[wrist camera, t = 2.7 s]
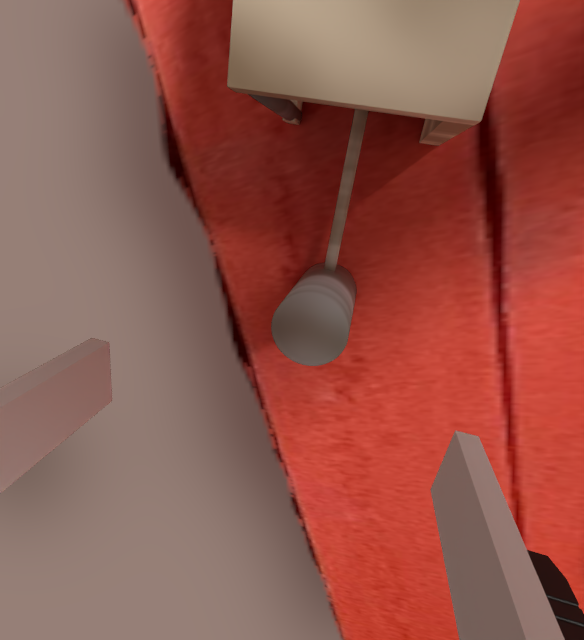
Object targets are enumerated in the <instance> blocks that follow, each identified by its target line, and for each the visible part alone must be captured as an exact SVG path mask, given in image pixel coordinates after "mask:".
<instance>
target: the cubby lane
mask: <svg viewBox="0 0 584 640" xmlns="http://www.w3.org/2000/svg"><path fill="white" fill-rule="evenodd" d="M519 2H520V0H233V8H232V23H231V37H230V52H229V67H228V81H227V87H228V88H230V89H232V90H233V91H235V92H238V93H245V94H248V95H250V96H251V97H253V98H254V99H256V100H257V101H259V102H260V103H262V104H263V105H265V106H266V107H268V108H269V109H271V110H272V111H274V112H275V113H277V114H278V115H280V116H281V117H283V119H282V120H283V121H285V122H287V123H289V124H296V125H300V121H301V119H302V112H301V111H302V104H303V102H310V103H317V104H324V105H331V106H339V107H346V108H353V109H360V110H367V111H374V112H382V113H389V114H396V115H403V116H410V117H418V118H425V122H424V126H423V130H422V133H421V137H420V141H419V143H423V144H430V145H436V146H439V145H441V144H442V143H444V142H446V141H448V140H450V139H451V138H453V137H455V136H457V135H458V134H460V133H462V132H464V131H465V130H467V129H469V128H471V127H472V126H474V125H476V124H478V123H479V122H481V120H482V117H483V114H484V110H485V107H486V104H487V101H488V98H489V95H490V92H491V89H492V86H493V82H494V79H495V76H496V73H497V70H498V67H499V64H500V61H501V58H502V54H503V51H504V48H505V45H506V42H507V39H508V36H509V33H510V30H511V26H512V23H513V20H514V17H515V14H516V11H517V8H518V5H519Z"/></svg>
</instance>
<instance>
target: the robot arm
mask: <svg viewBox="0 0 584 640" xmlns="http://www.w3.org/2000/svg"><path fill="white" fill-rule="evenodd" d="M111 401H112V389H111V369H110V349H109V342H106V341H101V340H98V339H94V338H91V339H89V340H87V341H85V342H83V343H81V344H80V345H78V346H76V347H74V348H72V349H71V350H69V351H67V352H65V353H63V354H61V355H60V356H58V357H56V358H54V359H52V360H50V361H49V362H47V363H45V364H43V365H41V366H40V367H38V368H36V369H34V370H32V371H30V372H28V373H27V374H25V375H23V376H21V377H19V378H18V379H16V380H14V381H12V382H10V383H8V384H7V385H5V386H3V387H1V388H0V493H1V492H3V491H4V490H5V489H6V488H7V487H9V486H10V485H11V484H12V483H14V482H15V481H16V480H17V479H18V478H20V476H22V475H23V474H24V473H25V472H27V471H28V470H29V469H30V468H32V467H33V466H34V465H35V464H36V463H38V462H39V461H40V460H41V459H42V458H44V457H45V456H46V455H47V454H48V453H50V452H51V451H52V450H53V449H54V448H56V447H57V446H58V445H59V444H60V443H62V442H63V441H64V440H65V439H66V438H68V437H69V436H70V435H71V434H72V433H74V432H75V431H76V430H77V429H78V428H80V427H81V426H82V425H83V424H84V423H86V422H87V421H88V420H89V419H90V418H92V417H93V416H94V415H95V414H97V413H98V412H99V411H100V410H101V409H102V408H104V407H105V406H106V405H107V404H109V403H110V402H111ZM431 494H432V499H433V504H434V510H435V515H436V520H437V525H438V530H439V536H440V541H441V546H442V551H443V556H444V562H445V567H446V572H447V577H448V582H449V588H450V593H451V598H452V603H453V608H454V614H455V619H456V624H457V629H458V634H459V639H460V640H584V614H583V612H582V610H581V609H579V607H578V605H579V604H578V602H577V600H576V598H575V595H574V593H573V591H572V589H571V587H570V585H569V583H568V581H567V579H566V578H565V577H564V576H563V574H562V573H561V572H560V571H559V569H558V568H557V567H556V566H555V564H554V563H553V562H552V561H551V560H550V558H549V557H548V556H546V555H542V554H539V553H536V552H532V551H529V550H527V549H526V547H525V545H524V542H523V540H522V538H521V535H520V533H519V531H518V528H517V526H516V523H515V521H514V519H513V516H512V514H511V512H510V509H509V507H508V505H507V502H506V500H505V498H504V495H503V493H502V490H501V488H500V486H499V483H498V481H497V479H496V476H495V474H494V472H493V469H492V467H491V464H490V462H489V460H488V457H487V455H486V453H485V450H484V448H483V446H482V443H481V441H480V439H479V436H475V435H471V434H467V433H463V432H459V431H455V432H454V435H453V437H452V440H451V442H450V444H449V447H448V449H447V452H446V454H445V456H444V459H443V461H442V463H441V466H440V468H439V471H438V473H437V475H436V478H435V480H434V483H433V485H432V487H431Z"/></svg>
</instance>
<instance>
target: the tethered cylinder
mask: <svg viewBox="0 0 584 640" xmlns="http://www.w3.org/2000/svg"><path fill="white" fill-rule="evenodd" d="M367 116H368V111H367V110H360V109H355V111H354V117H353V122H352V127H351V132H350V137H349V142H348V147H347V153H346V158H345V163H344V168H343V173H342V178H341V183H340V189H339V194H338V199H337V204H336V209H335V214H334V219H333V225H332V230H331V235H330V240H329V245H328V250H327V255H326V261H325V263H319V264H316V265H314V266H312V267H311V268H309V269H308V270H307V271H306V272H305V273H304V275H303V276H302V277H301V279H300V280H299V281H298V282H297V284H296V285H295V286H294V287H293V289H292V290H291V291H290V293H289V294H288V295H287V296H286V298H285V299H284V300H283V301H282V303H281V304H280V305H279V307H278V308H277V309H276V311H275V313H274V315H273V318H272V324H271V330H272V336H273V339H274V341H275V343H276V345H277V347H278V348H279V350H280V351H281V352H282V353H283V354H284V355H285V356H286V357H288V358H289V359H291V360H292V361H294V362H297V363H299V364H302V365H308V366H318V365H323V364H326V363H329V362H331V361H332V360H334V359H335V358H337V357H338V356H339V355H340V354H341V353H342V351H343V350H344V348H345V346H346V344H347V341H348V336H349V331H350V325H351V320H352V314H353V309H354V304H355V298H356V284H355V281H354V279H353V277H352V275H351V274H350V273H349V272H348V271H347V270H346V269H345V268H344V267H342V266H340V265H338V264H337V260H338V255H339V251H340V246H341V241H342V236H343V231H344V227H345V222H346V217H347V212H348V207H349V203H350V198H351V193H352V188H353V183H354V179H355V174H356V169H357V164H358V159H359V155H360V150H361V145H362V140H363V135H364V131H365V126H366V121H367Z"/></svg>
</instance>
